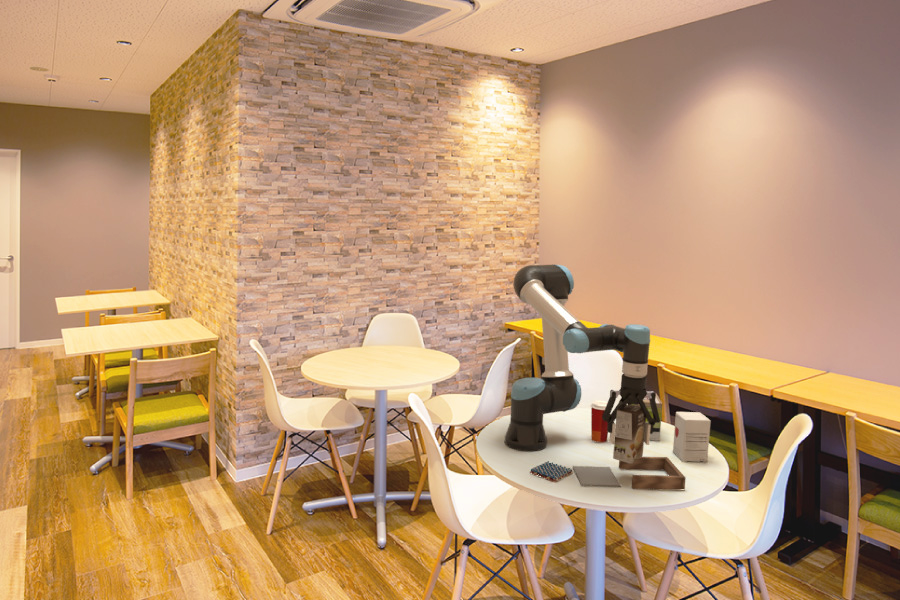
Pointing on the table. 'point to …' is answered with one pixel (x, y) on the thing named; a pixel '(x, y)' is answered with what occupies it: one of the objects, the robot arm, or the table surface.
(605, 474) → the slate mat
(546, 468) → the woven mat
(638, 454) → the coffee box
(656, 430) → the tea box
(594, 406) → the paper cup
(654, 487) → the frame
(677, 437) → the supplement box
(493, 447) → the table surface
